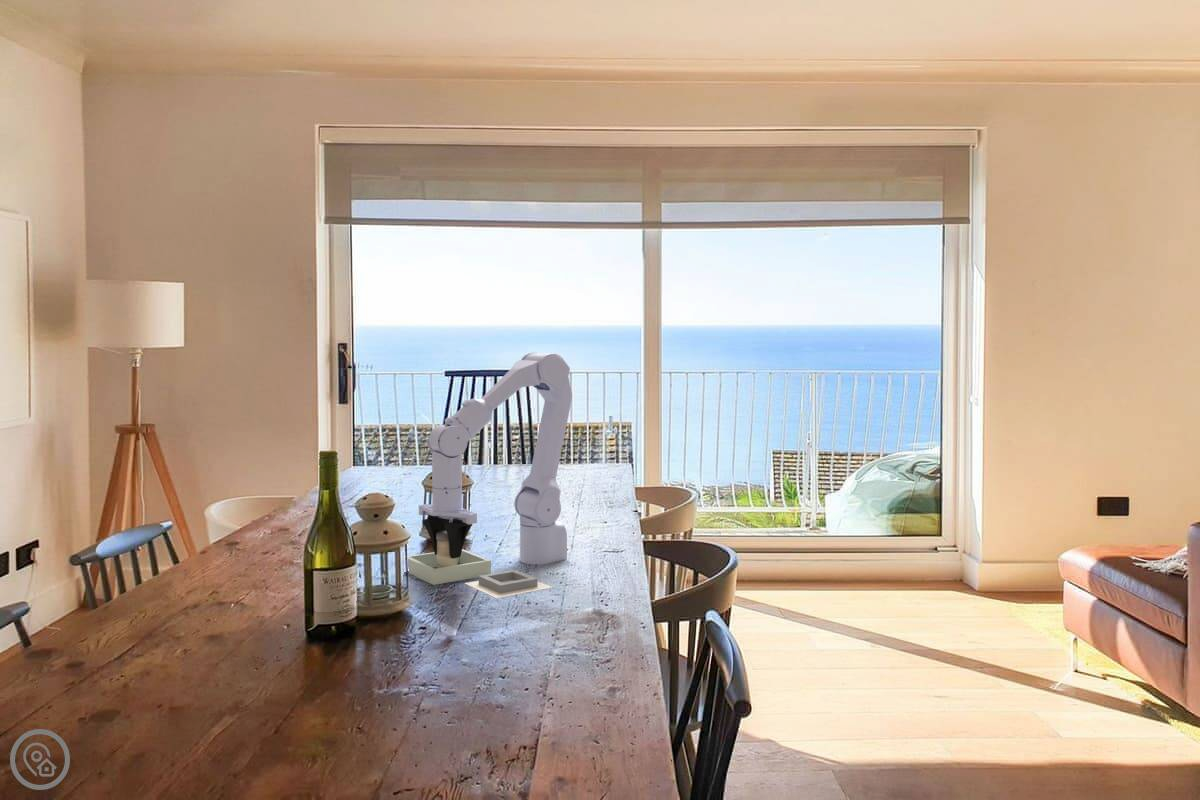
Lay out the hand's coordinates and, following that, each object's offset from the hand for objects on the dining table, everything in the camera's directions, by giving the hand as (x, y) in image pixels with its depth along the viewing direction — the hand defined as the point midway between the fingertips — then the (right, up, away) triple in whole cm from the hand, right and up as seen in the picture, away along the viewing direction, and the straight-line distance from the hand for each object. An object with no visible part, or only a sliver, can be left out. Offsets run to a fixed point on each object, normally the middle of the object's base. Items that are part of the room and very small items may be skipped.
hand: (447, 555), depth 183 cm
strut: (0, -3, 0) cm, 3 cm away
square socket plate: (+13, -5, -8) cm, 16 cm away
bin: (0, -5, 0) cm, 5 cm away
